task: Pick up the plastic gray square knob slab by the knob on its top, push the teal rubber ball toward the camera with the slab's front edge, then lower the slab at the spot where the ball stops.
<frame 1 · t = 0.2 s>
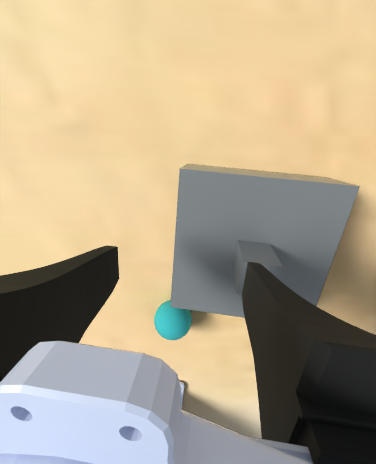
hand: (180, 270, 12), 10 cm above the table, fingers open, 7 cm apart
ball: (173, 319, 24), on the table
gray square knob slab: (243, 233, 22), on the table
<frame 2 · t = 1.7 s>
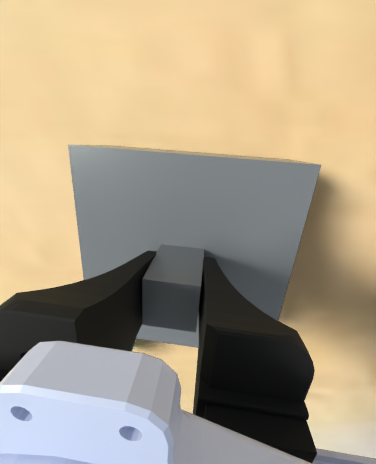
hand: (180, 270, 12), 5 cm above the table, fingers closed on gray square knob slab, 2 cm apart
gray square knob slab: (190, 234, 17), on the table, touching gripper
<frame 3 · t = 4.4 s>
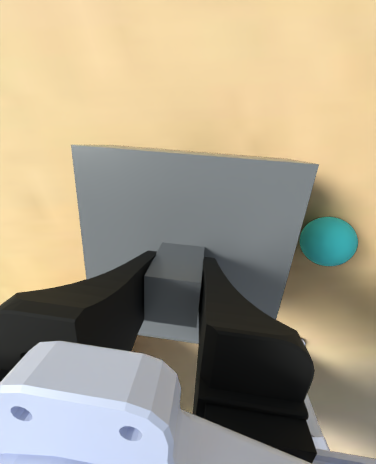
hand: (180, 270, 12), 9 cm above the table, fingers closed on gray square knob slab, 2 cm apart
ball: (326, 241, 18), on the table
gray square knob slab: (190, 233, 17), point 4 cm above the table, touching gripper
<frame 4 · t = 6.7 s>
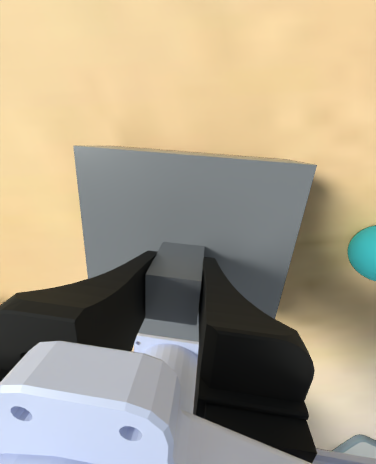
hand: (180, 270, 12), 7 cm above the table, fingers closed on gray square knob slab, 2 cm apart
gray square knob slab: (190, 232, 18), point 1 cm above the table, touching gripper
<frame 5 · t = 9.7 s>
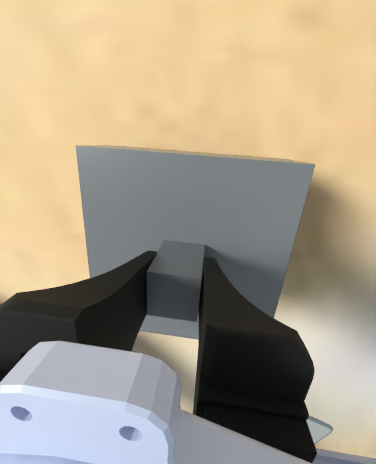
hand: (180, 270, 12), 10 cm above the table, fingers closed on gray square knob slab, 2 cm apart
smartphone: (268, 416, 32), on the table
gray square knob slab: (190, 231, 18), point 4 cm above the table, touching gripper
when the fingers open (6 cm above the table, at t = 12.0 s): gray square knob slab stays where it is, on the table.
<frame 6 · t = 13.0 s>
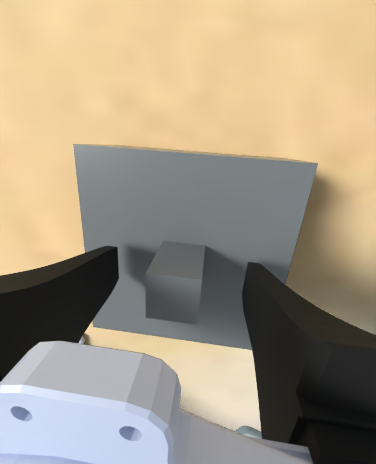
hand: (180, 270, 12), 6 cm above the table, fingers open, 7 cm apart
gray square knob slab: (190, 232, 17), on the table
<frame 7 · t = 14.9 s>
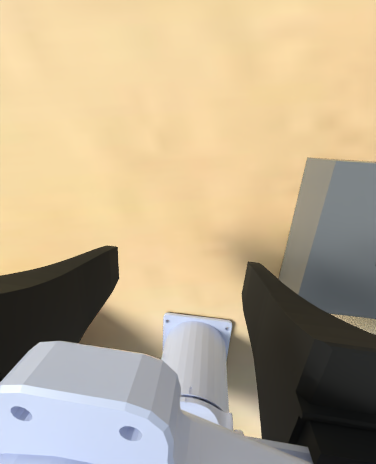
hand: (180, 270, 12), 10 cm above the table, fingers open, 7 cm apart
gray square knob slab: (358, 229, 21), on the table
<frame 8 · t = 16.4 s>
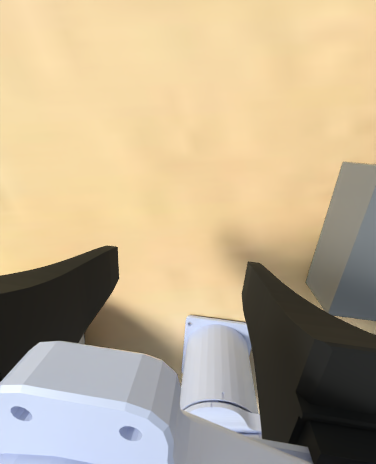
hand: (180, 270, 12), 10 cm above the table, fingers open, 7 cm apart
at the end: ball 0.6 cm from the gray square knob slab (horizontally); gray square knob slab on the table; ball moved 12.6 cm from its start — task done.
